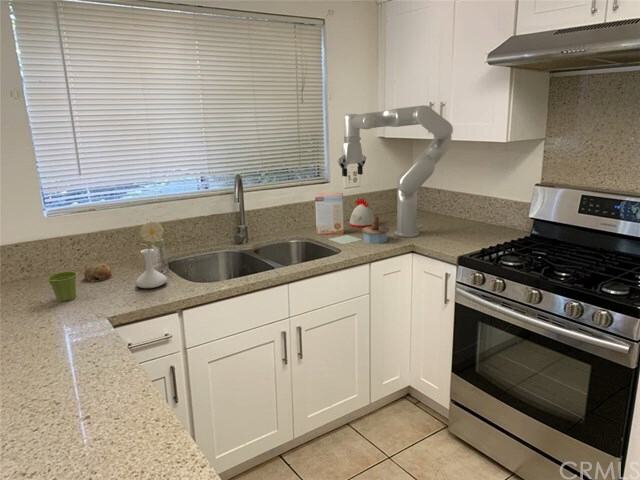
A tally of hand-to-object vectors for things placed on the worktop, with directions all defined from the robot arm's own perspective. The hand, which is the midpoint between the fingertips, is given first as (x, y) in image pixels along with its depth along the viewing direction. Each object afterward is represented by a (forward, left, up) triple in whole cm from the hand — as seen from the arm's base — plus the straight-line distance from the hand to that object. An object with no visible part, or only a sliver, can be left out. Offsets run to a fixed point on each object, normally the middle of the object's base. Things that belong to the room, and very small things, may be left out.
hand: (352, 175), depth 237 cm
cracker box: (+8, -9, -31) cm, 33 cm away
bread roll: (+119, -15, -31) cm, 124 cm away
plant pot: (+133, +2, -31) cm, 136 cm away
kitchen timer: (-16, -12, -31) cm, 37 cm away
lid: (0, +17, -25) cm, 30 cm away
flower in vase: (+104, +9, -31) cm, 109 cm away
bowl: (0, +17, -30) cm, 35 cm away
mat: (+10, +6, -30) cm, 32 cm away
